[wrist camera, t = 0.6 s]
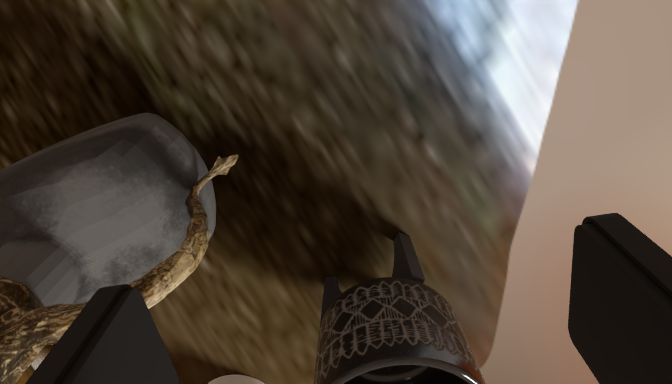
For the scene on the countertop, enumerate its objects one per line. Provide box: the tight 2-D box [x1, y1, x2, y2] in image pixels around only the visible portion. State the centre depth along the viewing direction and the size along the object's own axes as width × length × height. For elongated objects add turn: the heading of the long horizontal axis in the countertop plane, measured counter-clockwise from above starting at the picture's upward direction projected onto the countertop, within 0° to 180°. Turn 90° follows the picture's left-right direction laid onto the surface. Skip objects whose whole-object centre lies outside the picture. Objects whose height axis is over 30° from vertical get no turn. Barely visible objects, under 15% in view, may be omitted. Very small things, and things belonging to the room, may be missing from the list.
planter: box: [314, 232, 486, 384], centre depth 39 cm, size 13×13×18 cm
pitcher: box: [0, 113, 239, 384], centre depth 28 cm, size 11×19×30 cm, turn 109°
